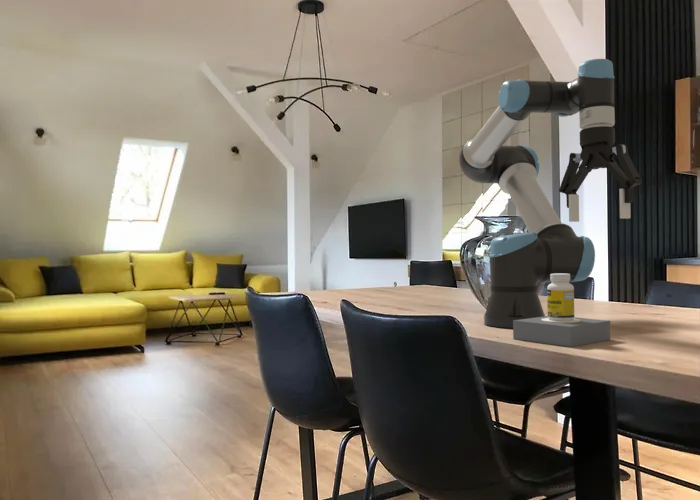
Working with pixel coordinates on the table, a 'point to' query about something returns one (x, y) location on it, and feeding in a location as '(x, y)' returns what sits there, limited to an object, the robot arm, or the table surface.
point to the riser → (561, 331)
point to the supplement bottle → (560, 298)
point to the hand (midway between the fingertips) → (598, 220)
